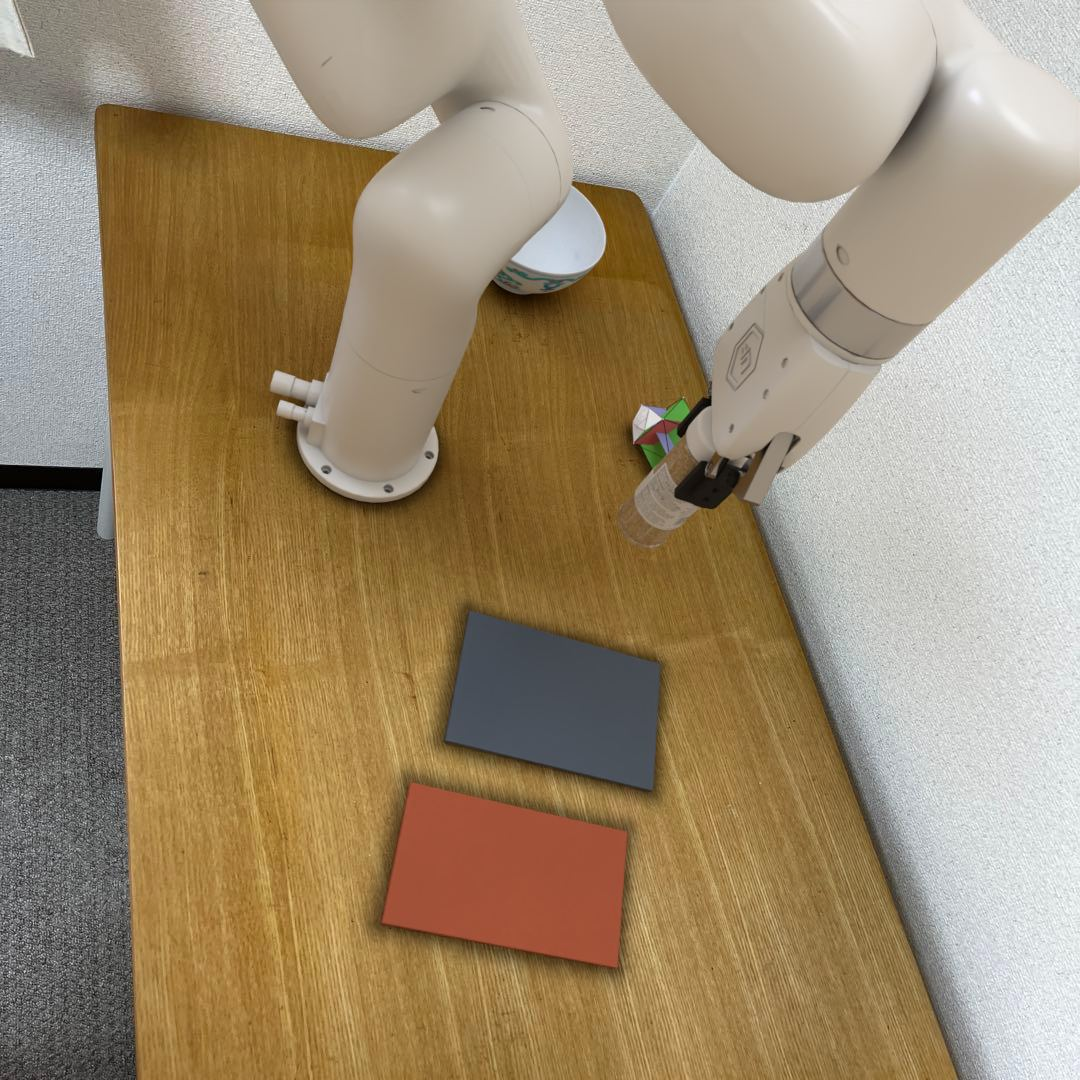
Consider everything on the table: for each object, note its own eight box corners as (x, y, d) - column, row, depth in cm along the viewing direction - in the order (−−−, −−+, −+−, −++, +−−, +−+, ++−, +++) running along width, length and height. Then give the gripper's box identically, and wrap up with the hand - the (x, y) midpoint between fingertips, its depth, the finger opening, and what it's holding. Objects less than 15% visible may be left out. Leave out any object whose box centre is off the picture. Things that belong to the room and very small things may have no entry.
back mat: (443, 742, 71) (445, 740, 70) (468, 613, 77) (470, 610, 76) (650, 792, 75) (653, 790, 74) (657, 666, 81) (660, 663, 80)
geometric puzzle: (689, 405, 95) (681, 373, 87) (718, 460, 92) (713, 431, 85) (627, 436, 96) (615, 406, 88) (654, 490, 93) (644, 465, 86)
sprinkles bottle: (649, 495, 72) (738, 397, 61) (676, 544, 71) (772, 452, 60) (603, 508, 70) (687, 408, 59) (630, 558, 68) (721, 466, 57)
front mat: (380, 924, 63) (382, 923, 62) (409, 783, 68) (411, 781, 68) (614, 968, 67) (617, 967, 67) (624, 833, 72) (627, 831, 72)
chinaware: (422, 235, 96) (440, 177, 90) (529, 208, 104) (552, 154, 97) (499, 340, 93) (523, 289, 86) (603, 305, 101) (632, 255, 94)
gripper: (794, 167, 52) (651, 362, 67) (807, 390, 43) (639, 558, 58) (903, 214, 54) (740, 394, 69) (936, 438, 45) (740, 588, 60)
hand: (695, 467), depth 63 cm, fingers closed on sprinkles bottle, 4 cm apart
